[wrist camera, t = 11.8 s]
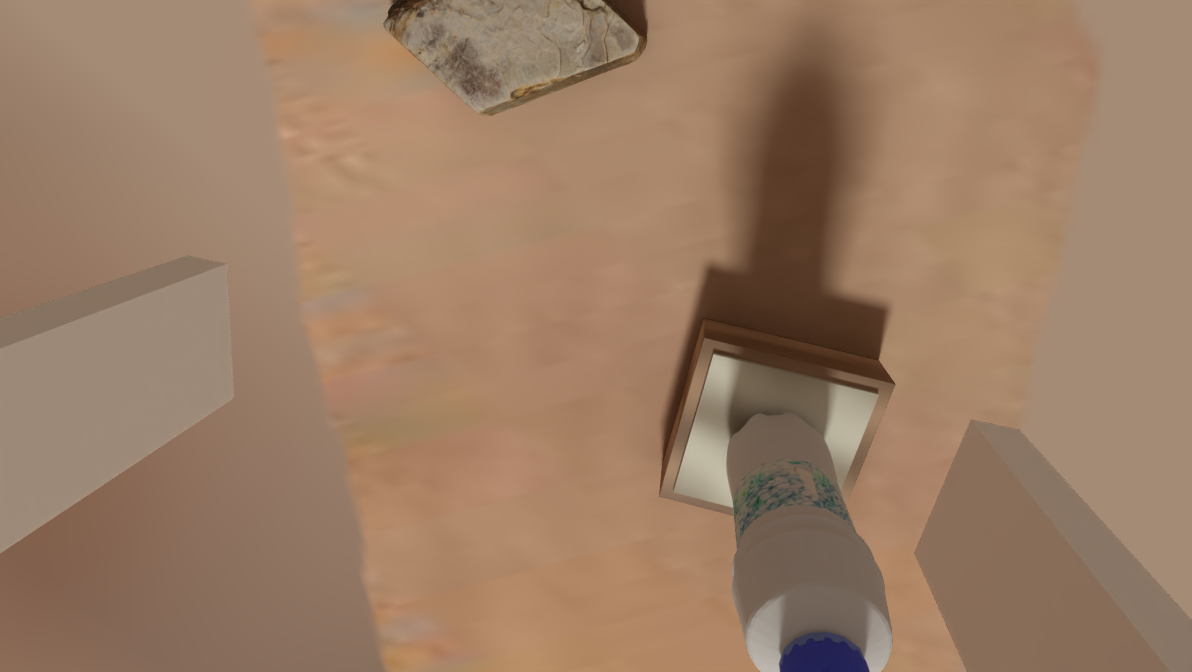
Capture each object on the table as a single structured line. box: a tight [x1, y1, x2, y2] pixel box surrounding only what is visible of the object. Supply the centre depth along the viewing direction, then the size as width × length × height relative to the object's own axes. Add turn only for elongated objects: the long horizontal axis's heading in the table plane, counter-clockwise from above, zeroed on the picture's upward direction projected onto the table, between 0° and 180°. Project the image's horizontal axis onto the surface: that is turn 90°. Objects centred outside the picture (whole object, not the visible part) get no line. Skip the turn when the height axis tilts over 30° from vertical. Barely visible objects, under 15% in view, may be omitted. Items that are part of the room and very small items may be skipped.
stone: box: [383, 0, 647, 116], centre depth 40 cm, size 15×8×3 cm, turn 109°
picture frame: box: [659, 318, 896, 516], centre depth 45 cm, size 12×12×4 cm
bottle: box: [726, 412, 893, 672], centre depth 34 cm, size 7×7×20 cm
